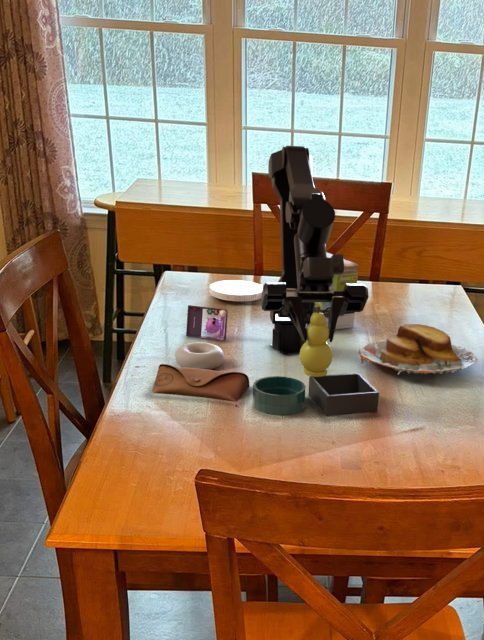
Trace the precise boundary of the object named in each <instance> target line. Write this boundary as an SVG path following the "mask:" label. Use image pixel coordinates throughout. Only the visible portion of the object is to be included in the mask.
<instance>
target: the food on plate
mask: <svg viewBox="0 0 484 640" xmlns="http://www.w3.org/2000/svg"><path fill="white" fill-rule="evenodd" d="M375 344H377V346H376V345H375ZM358 355H359V357H360V364H361V365H363V364H364V360H365V361H368V362H370V363H374V364H379V365H380V366H383V367H387V368H388V369H390V368H391V369H393V370H395V371H396V372H397V375H398V376H399V375H400V374H401V373H402V372H407V374H411V373H414V374H419V373H420V374H424V375H426V374H433V375H435V374H438V373H439V375H443V373H444V372H446V373H450V374H452V373H453V374H454V373H456V372H457V370H460V369H461V370H464V369H466V368H468V367H471V366H472V365H473V364H475V363H477V361H478V358H477V356H476V355H475V354H474V353H473V352H472V351H470V350H468V349H467V348H464V347H461V346H458V345H455V344H452V341H451V337H450V335H449V334H448V333H446V332H445V331H443V330H441V329H439V328H436V327H434V326H430V325H427V324H426V325H425V324H420V323H419V324H418V323H405V324H400V325H399V326H398V329H397V332H394V333H391V334H390V335H388V336H387V337H386V339H383V340H376V341H373V342H370V343H367V344H366V345H365V346H363V347H361V348H359V350H358Z"/></svg>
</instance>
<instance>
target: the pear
mask: <svg viewBox="0 0 484 640" xmlns="http://www.w3.org/2000/svg"><path fill="white" fill-rule="evenodd" d="M325 323H326V318H325V316H324V314H322V313H321V312H320V306H317V312H315V313H313V314H312V316H311V318H310V324H307V325H306V331H307V341H306V342H305V343H304V344H303V346H302V347H301V350H300V353H299V361H300V363H301V365H302V368H303V369H302V372H303V374H304V375H306V376H308V377H309V376H314V377H320V376H325V375H328V368H329V367H330V365H331V364H332V362H333V355H334V354H333V350H332V346H331V345H330V344H329V343H328V341H329V335H330V332H329V328H328V327H327V325H326V324H325Z"/></svg>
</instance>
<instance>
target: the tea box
mask: <svg viewBox="0 0 484 640" xmlns="http://www.w3.org/2000/svg"><path fill="white" fill-rule="evenodd" d="M326 253H327V258H331V256H333V254H334V253H333V254H332V253H330V252H327V251H326ZM343 259H344V272H343V273H342V274H341V275H334V278H332V279H333V284H332V287H330V291H343V290H344V287H345V284H346V283H348V284H358V276H359V264H357V263H355V262H353V261H350V260H348V259H345V258H343ZM317 306H320V312H321V313H322V314H324V316H325V318H326V323H325V324H326V325H327V327H328V313H329V310H330V307H331V305H330V303H329V302H315V307H314V312H313V313H315V312H317ZM355 315H356V312H345V314H344V315H343V316H339V317H338V320H337V324H336V328H335V330H342V329H350V328H354V324H355V317H356V316H355Z"/></svg>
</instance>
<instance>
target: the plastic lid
mask: <svg viewBox="0 0 484 640" xmlns="http://www.w3.org/2000/svg"><path fill="white" fill-rule="evenodd" d="M262 290H263V285H262V284H260V283H258V282H254V281H249V280H242V279H241V280H240V279H226V280H219V281H214V282H212V283H211V284H209V295H210V296H212V297H213V298H215V299H216V298H217V299H219V300H223V301H230V302H251V301H257V300H260V299H261V296H262Z"/></svg>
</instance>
